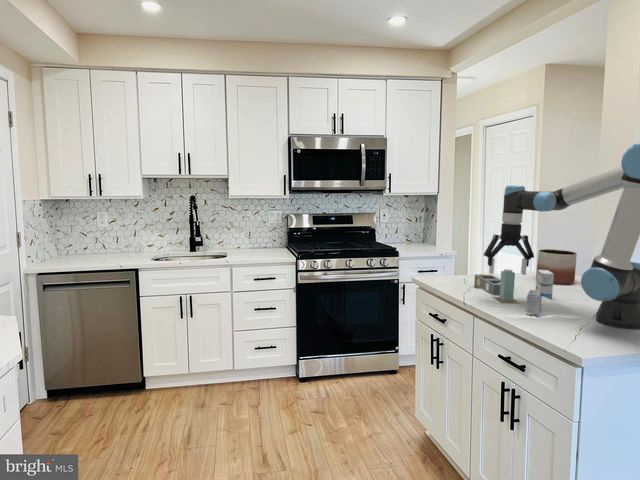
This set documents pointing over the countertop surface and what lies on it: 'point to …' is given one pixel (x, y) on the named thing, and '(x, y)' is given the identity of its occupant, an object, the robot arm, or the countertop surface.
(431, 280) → the countertop surface
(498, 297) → the brown flat block
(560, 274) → the planter
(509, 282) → the plug
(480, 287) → the socket strip
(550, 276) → the ink box
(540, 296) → the medicine box
